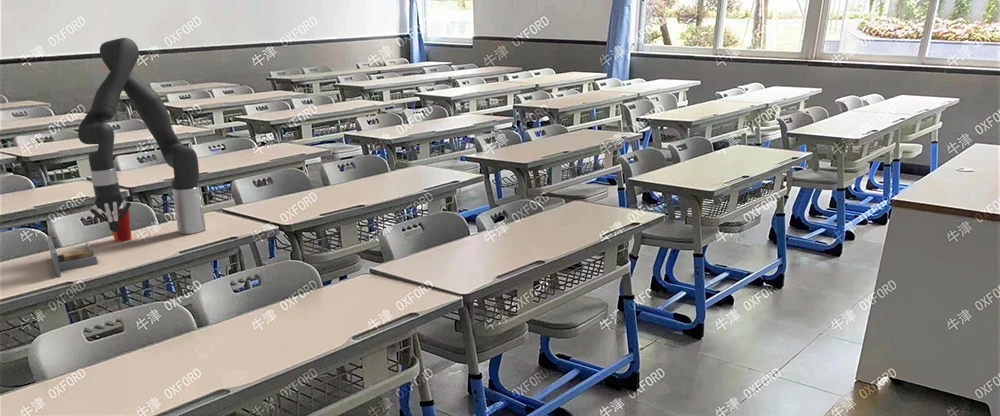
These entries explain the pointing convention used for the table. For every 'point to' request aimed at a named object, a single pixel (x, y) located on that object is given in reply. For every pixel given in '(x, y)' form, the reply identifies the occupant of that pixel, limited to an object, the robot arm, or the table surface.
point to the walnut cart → (78, 254)
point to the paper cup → (123, 227)
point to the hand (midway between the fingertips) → (115, 231)
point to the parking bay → (62, 265)
